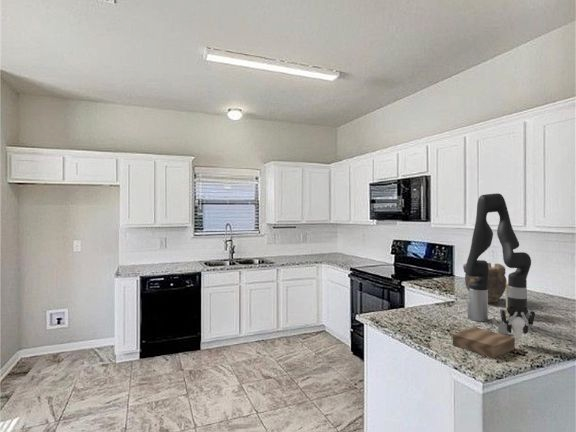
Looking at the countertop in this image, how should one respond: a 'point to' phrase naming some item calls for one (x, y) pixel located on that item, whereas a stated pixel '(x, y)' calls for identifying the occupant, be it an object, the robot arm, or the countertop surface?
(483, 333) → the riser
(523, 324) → the lightbulb
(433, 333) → the countertop surface
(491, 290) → the clay pot
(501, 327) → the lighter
